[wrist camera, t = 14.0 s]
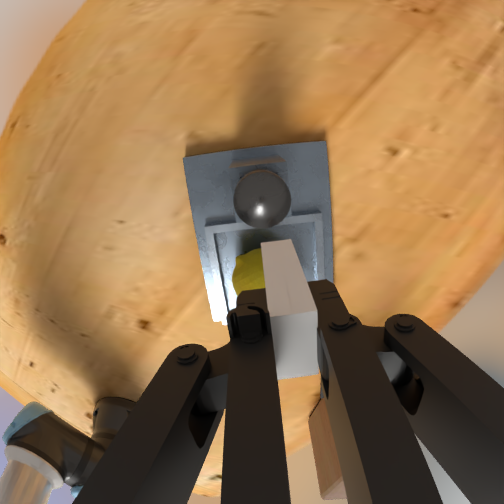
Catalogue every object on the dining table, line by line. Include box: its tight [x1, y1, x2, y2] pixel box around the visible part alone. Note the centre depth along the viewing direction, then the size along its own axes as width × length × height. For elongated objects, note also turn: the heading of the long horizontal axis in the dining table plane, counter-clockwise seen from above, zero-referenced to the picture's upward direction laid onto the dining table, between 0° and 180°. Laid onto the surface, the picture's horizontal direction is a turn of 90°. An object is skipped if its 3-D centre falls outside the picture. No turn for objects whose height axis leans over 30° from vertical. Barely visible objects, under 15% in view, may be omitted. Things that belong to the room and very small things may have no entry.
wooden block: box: [308, 398, 347, 500], centre depth 48 cm, size 10×10×20 cm
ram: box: [233, 170, 291, 229], centre depth 32 cm, size 5×5×10 cm
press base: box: [183, 141, 333, 325], centre depth 39 cm, size 18×24×10 cm
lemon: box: [232, 248, 266, 296], centre depth 40 cm, size 11×8×8 cm
